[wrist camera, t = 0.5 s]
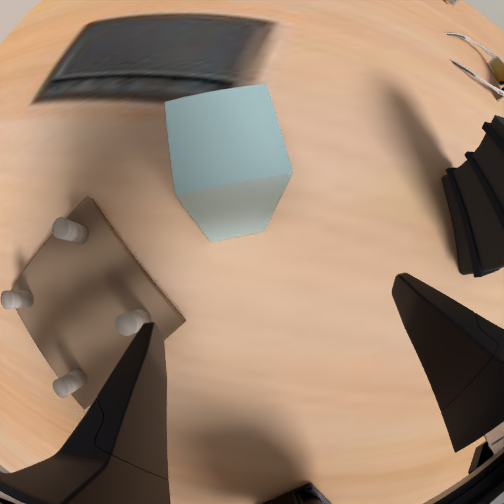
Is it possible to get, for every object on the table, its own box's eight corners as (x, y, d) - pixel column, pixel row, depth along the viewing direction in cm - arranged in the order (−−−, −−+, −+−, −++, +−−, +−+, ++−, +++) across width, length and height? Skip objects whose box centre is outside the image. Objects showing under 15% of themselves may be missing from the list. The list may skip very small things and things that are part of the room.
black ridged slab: (470, 306, 22) (570, 220, 9) (423, 204, 28) (476, 99, 15) (489, 298, 22) (579, 217, 9) (443, 202, 29) (497, 106, 16)
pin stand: (186, 320, 22) (173, 330, 17) (89, 405, 21) (66, 423, 16) (93, 199, 23) (67, 184, 18) (15, 293, 21) (-14, 294, 17)
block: (264, 231, 23) (292, 172, 10) (210, 242, 23) (175, 195, 10) (252, 181, 23) (266, 83, 11) (201, 191, 23) (164, 101, 10)
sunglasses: (509, 117, 27) (523, 104, 22) (444, 74, 29) (456, 55, 24) (498, 72, 29) (508, 59, 24) (439, 35, 31) (447, 19, 26)
